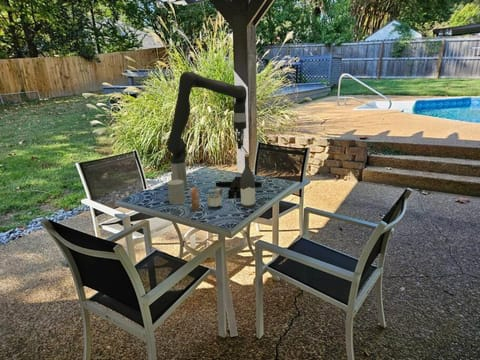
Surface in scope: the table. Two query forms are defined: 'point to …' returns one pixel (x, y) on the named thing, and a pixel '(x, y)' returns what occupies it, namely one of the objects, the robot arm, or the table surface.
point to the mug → (215, 198)
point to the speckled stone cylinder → (176, 191)
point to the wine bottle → (247, 185)
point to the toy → (235, 187)
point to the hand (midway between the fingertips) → (240, 147)
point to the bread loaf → (194, 198)
